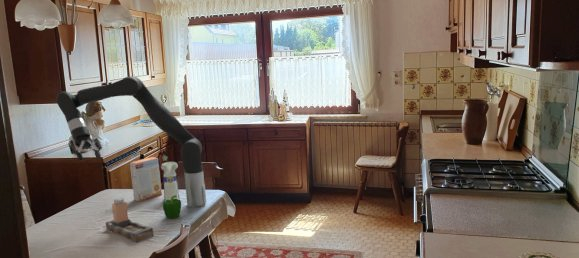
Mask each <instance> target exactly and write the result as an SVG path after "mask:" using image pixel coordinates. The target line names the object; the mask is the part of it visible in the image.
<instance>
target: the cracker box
mask: <svg viewBox="0 0 579 258" xmlns="http://www.w3.org/2000/svg"><path fill="white" fill-rule="evenodd" d="M129 166H130V167H129V168H130V175H131V183H132V192H133V193H132V194H133V200H134V201H137V202H143V201H145V200H148V199H151V198H154V197H155V198H156V197H158V196H161V195H163V193H162V183H161V173H160V165H159V158H158V157H153V156H151V157H147V158H142V159H139V160H134V161H130V162H129Z"/></svg>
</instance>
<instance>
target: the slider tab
mask: <svg viewBox="0 0 579 258" xmlns="http://www.w3.org/2000/svg"><path fill="white" fill-rule="evenodd" d="M111 205H112V215H113V220H114V221H112V224H114V225H116V226H119V227H123V226H126V225H129V224H130V218H129V215H128V207H127V201H125V199H124V198H123V197H118V198H114V199H113V203H112V204H111Z"/></svg>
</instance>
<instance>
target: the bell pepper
mask: <svg viewBox="0 0 579 258" xmlns="http://www.w3.org/2000/svg"><path fill="white" fill-rule="evenodd" d="M175 197H177V196H176V195H175V196H173V197H172V198H171V200H166V201H165V200H164V201H163V202H162V209H163V212H164V215H165V217H166V218H167V219H171V220H172V219H176V218H178V217H179V216H180V214H181V212H182V211H181V210H182V201H181V199H173V198H175Z"/></svg>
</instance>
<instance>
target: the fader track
mask: <svg viewBox="0 0 579 258" xmlns="http://www.w3.org/2000/svg"><path fill="white" fill-rule="evenodd" d="M112 221H114V219H111V220H108V221H105V227H106V230H107V231H108V230H109V232H111V233H113V234H116V235H118V236H120V237H123V238H126V239H128V240H130V241H133V242H135V243H138V242H141V241H143V240H147V239H149V238H151V237H154V229H153V227H151V226H147V225H144V224H142V223H139V222H137V221H134V220H130V224H129V225H126V226H123V227H119V226H116V225H114V224H112Z"/></svg>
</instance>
